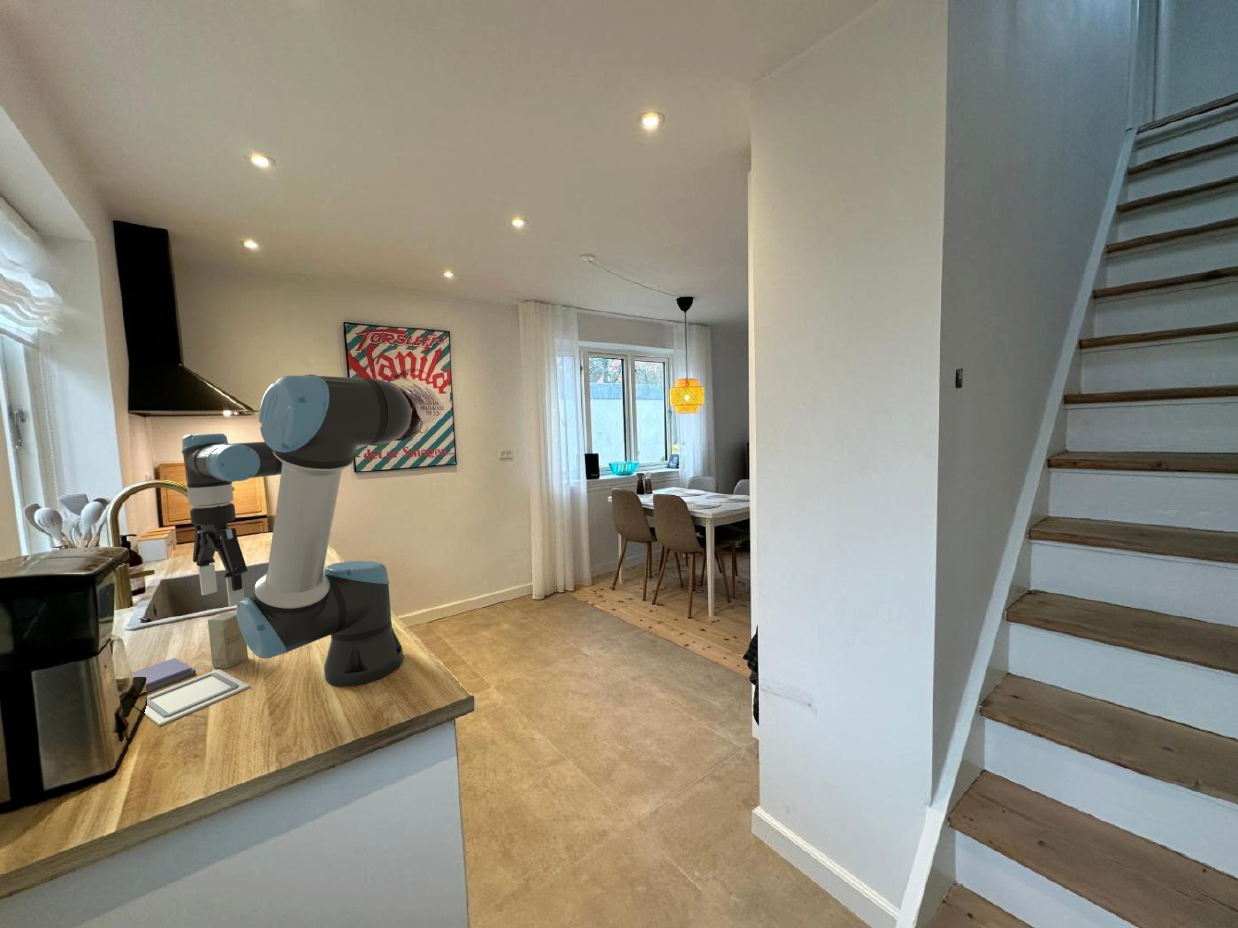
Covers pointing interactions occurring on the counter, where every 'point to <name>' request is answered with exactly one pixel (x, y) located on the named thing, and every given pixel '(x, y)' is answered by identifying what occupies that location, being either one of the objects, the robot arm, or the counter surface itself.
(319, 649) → the counter surface
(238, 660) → the box
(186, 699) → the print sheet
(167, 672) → the pad
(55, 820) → the counter surface
